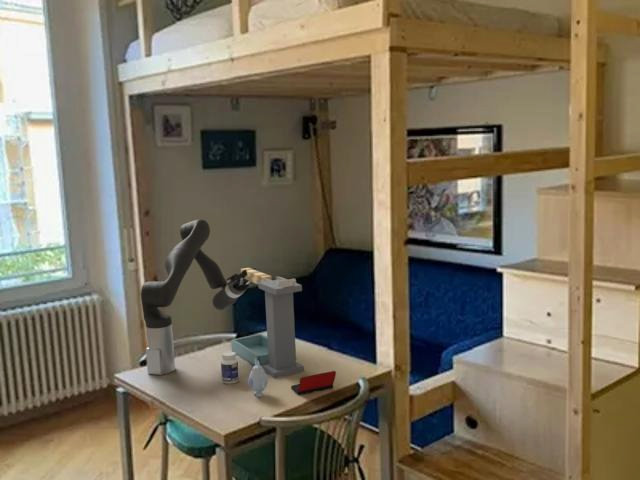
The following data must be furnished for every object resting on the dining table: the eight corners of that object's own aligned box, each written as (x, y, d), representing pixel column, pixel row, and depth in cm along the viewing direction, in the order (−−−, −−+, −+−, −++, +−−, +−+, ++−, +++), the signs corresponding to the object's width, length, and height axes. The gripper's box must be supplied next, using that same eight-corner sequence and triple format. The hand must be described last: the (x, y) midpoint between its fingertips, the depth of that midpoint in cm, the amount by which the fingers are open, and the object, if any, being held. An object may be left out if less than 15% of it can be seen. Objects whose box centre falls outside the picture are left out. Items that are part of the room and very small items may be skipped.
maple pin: (241, 277, 248) (240, 268, 248) (249, 276, 250) (248, 267, 250) (263, 286, 231) (262, 277, 231) (271, 285, 233) (271, 276, 233)
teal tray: (231, 352, 253) (231, 339, 252) (261, 345, 259) (261, 333, 258) (258, 369, 231) (257, 356, 230) (290, 362, 238) (289, 349, 237)
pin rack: (260, 369, 231) (255, 276, 226) (289, 362, 237) (285, 271, 232) (277, 381, 219) (272, 282, 214) (308, 373, 225) (304, 277, 220)
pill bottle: (235, 384, 217) (233, 356, 216) (219, 383, 219) (217, 355, 217) (240, 378, 223) (239, 350, 222) (225, 377, 224) (223, 350, 223)
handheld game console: (324, 381, 217) (323, 360, 216) (337, 392, 207) (336, 370, 206) (290, 388, 212) (288, 367, 211) (301, 399, 202) (300, 377, 201)
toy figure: (244, 392, 210) (242, 356, 209) (262, 388, 213) (260, 353, 211) (255, 402, 201) (253, 366, 199) (273, 398, 203) (272, 362, 202)
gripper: (218, 280, 256) (231, 264, 242) (250, 275, 263) (264, 259, 249) (222, 297, 254) (236, 283, 240) (255, 292, 261) (269, 277, 247)
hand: (250, 271), depth 244 cm, fingers closed on maple pin, 3 cm apart
